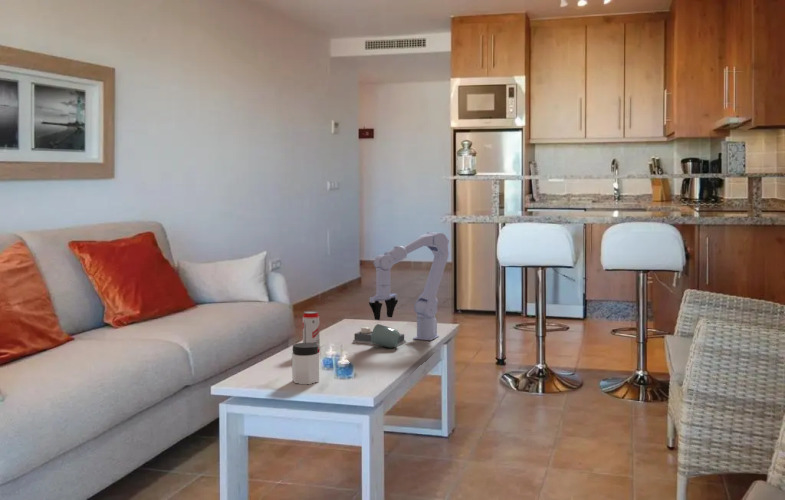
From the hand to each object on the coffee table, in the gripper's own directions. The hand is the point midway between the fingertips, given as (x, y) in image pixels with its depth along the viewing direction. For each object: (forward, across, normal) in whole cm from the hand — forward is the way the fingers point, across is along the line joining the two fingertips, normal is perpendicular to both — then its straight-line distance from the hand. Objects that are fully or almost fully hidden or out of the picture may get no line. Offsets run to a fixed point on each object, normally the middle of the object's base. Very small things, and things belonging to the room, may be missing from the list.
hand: (383, 318), depth 315 cm
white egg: (+8, +2, -8) cm, 11 cm away
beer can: (+10, +33, -7) cm, 35 cm away
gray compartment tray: (+10, 0, -2) cm, 10 cm away
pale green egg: (+8, -1, +4) cm, 8 cm away
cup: (+7, +4, +12) cm, 14 cm away
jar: (+10, +62, +21) cm, 67 cm away
